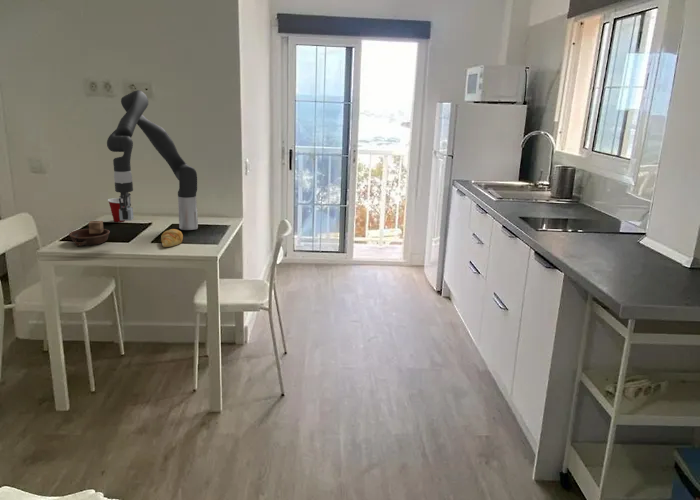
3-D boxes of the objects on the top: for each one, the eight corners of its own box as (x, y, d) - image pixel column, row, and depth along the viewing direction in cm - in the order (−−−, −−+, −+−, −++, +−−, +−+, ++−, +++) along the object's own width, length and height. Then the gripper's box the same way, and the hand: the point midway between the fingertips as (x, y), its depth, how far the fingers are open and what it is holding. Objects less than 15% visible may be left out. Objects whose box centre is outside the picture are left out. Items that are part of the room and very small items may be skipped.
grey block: (133, 218, 258) (132, 207, 256) (131, 220, 253) (130, 209, 252) (122, 218, 257) (121, 207, 255) (119, 220, 252) (118, 209, 251)
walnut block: (103, 230, 264) (102, 220, 263) (100, 233, 260) (99, 223, 258) (92, 230, 264) (91, 220, 262) (89, 233, 259) (88, 223, 257)
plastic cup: (123, 223, 299) (121, 201, 296) (105, 222, 301) (103, 200, 298) (134, 219, 309) (133, 198, 306) (117, 218, 311) (115, 197, 308)
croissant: (170, 256, 257) (178, 241, 255) (151, 245, 255) (158, 231, 253) (185, 243, 277) (191, 230, 275) (166, 233, 276) (173, 220, 274)
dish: (58, 247, 252) (57, 236, 251) (85, 236, 273) (84, 226, 272) (95, 249, 251) (94, 239, 250) (119, 238, 272) (119, 228, 271)
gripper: (117, 178, 256) (121, 214, 261) (111, 183, 242) (114, 221, 247) (135, 178, 257) (138, 214, 262) (129, 183, 244) (132, 221, 249)
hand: (126, 217), depth 255 cm, fingers closed on grey block, 5 cm apart
